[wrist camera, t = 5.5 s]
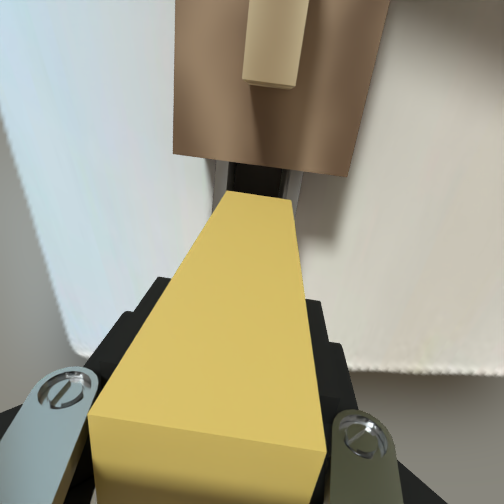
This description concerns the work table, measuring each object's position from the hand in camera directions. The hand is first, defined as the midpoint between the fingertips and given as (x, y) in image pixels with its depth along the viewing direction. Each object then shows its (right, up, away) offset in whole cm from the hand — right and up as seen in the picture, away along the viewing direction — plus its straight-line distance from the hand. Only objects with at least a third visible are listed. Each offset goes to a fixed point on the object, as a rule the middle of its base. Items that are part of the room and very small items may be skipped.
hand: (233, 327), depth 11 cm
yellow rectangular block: (+1, +4, +10) cm, 11 cm away
